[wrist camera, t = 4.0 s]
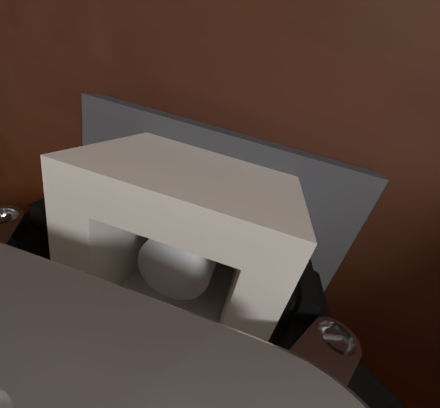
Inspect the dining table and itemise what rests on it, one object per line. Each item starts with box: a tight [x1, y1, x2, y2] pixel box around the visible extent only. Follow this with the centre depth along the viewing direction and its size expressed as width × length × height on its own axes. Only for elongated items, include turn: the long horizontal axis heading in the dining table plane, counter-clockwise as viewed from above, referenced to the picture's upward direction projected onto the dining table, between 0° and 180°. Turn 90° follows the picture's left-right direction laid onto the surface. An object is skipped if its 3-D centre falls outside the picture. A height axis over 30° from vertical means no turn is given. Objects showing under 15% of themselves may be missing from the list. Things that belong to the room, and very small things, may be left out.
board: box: [82, 93, 389, 300], centre depth 14 cm, size 21×14×6 cm, turn 167°
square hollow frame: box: [40, 132, 317, 342], centre depth 10 cm, size 7×7×6 cm
